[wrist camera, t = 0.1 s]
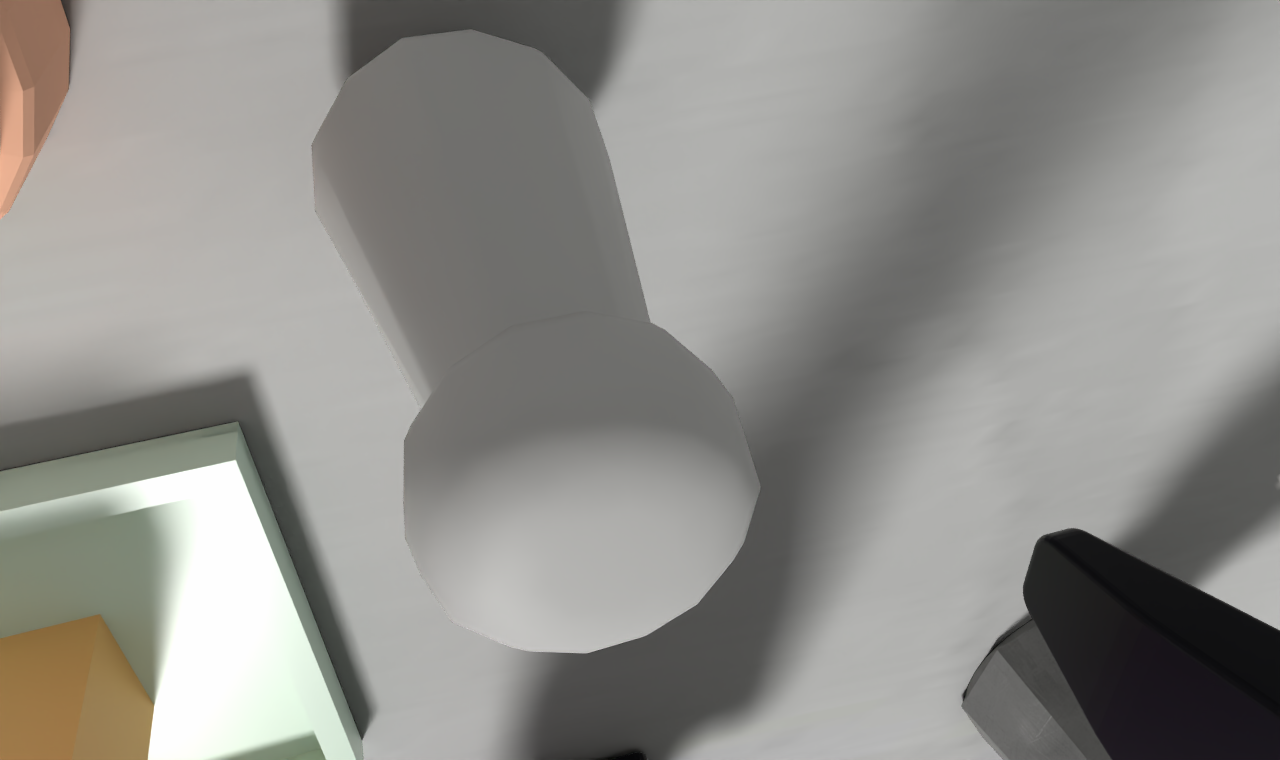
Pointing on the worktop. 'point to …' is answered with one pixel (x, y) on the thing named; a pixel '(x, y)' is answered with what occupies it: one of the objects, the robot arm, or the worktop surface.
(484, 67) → the salt shaker
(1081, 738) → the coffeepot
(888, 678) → the worktop surface
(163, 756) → the tray
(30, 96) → the pepper shaker
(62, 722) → the orange block
